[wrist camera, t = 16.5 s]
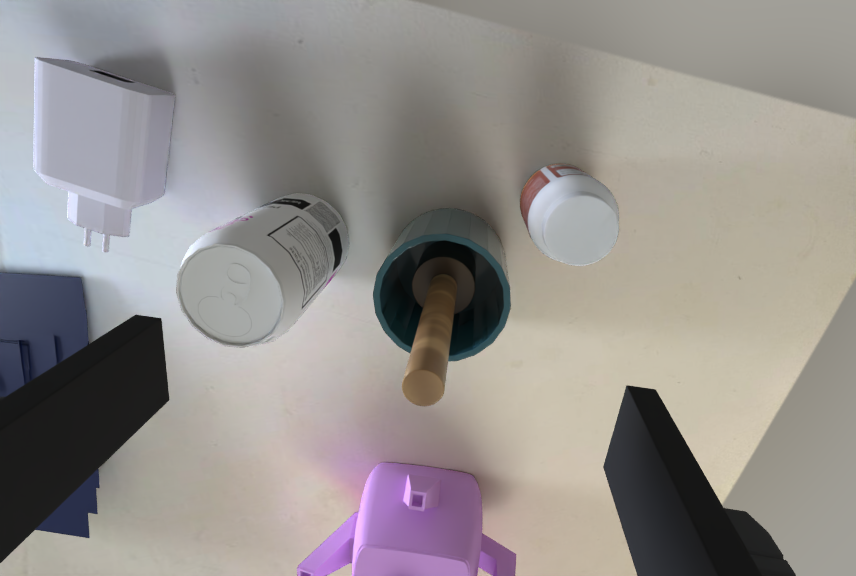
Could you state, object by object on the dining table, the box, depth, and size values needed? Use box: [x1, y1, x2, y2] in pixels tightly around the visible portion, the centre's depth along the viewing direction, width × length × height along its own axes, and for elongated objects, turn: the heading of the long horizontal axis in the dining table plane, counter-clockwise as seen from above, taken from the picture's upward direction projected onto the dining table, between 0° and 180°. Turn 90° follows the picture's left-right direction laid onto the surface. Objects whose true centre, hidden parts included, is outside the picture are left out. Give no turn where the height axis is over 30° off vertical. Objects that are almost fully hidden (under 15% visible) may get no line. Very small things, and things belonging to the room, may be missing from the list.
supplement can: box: [176, 193, 349, 348], centre depth 39 cm, size 8×8×15 cm
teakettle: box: [297, 462, 516, 576], centre depth 50 cm, size 17×17×12 cm
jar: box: [373, 208, 511, 361], centre depth 41 cm, size 10×10×9 cm
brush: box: [402, 240, 476, 406], centre depth 35 cm, size 5×5×20 cm
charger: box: [33, 57, 175, 252], centre depth 43 cm, size 5×9×15 cm
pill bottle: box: [520, 163, 619, 266], centre depth 37 cm, size 6×6×11 cm
